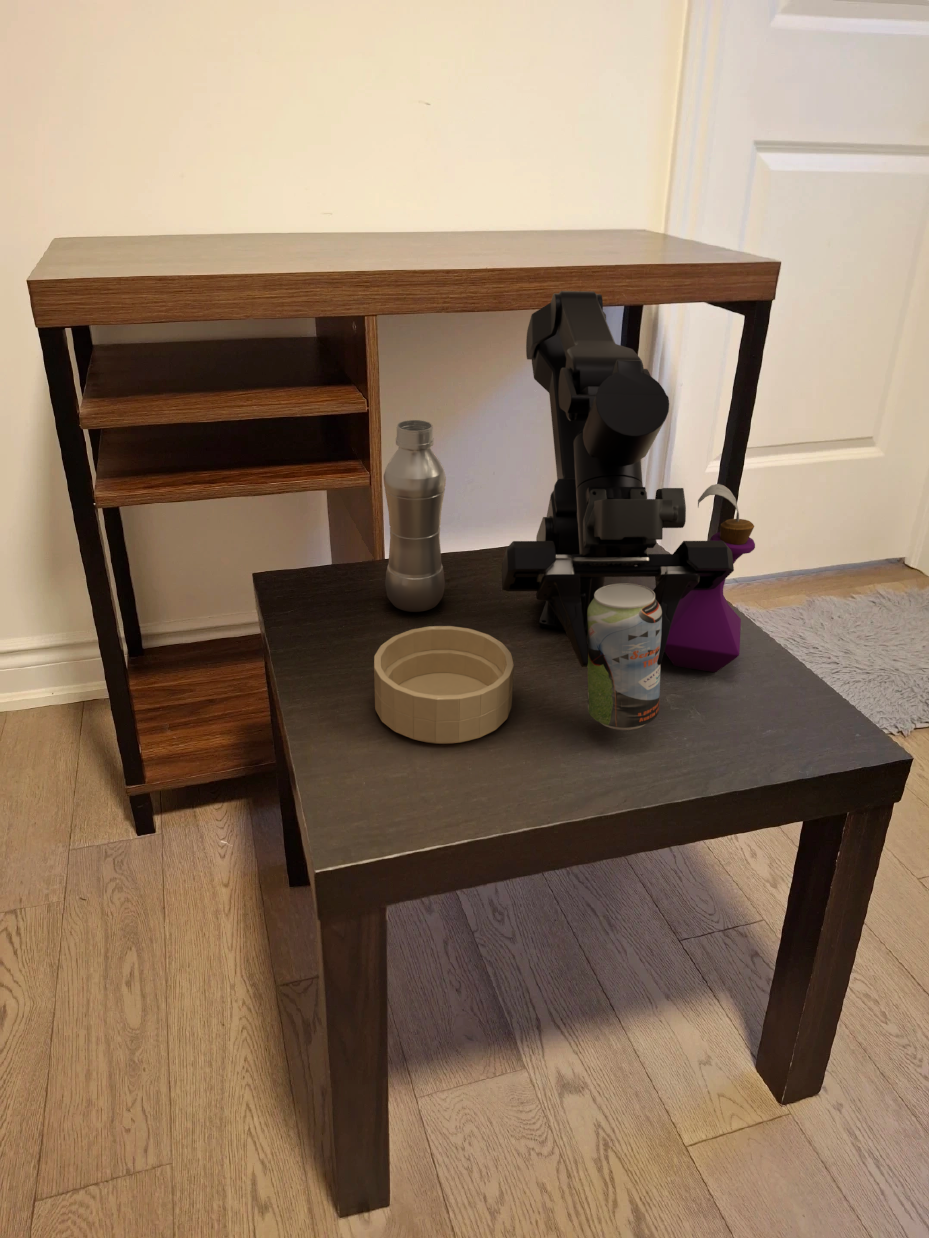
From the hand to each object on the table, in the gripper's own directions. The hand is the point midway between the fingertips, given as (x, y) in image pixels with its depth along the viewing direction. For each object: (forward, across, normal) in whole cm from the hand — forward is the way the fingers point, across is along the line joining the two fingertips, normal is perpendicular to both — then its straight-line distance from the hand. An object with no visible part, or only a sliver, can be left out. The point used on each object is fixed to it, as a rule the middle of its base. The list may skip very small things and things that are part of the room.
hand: (620, 665), depth 77 cm
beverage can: (+3, 0, +6) cm, 7 cm away
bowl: (+2, -14, +9) cm, 17 cm away
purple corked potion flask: (-4, +11, +15) cm, 19 cm away
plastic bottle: (-12, -17, +24) cm, 31 cm away
